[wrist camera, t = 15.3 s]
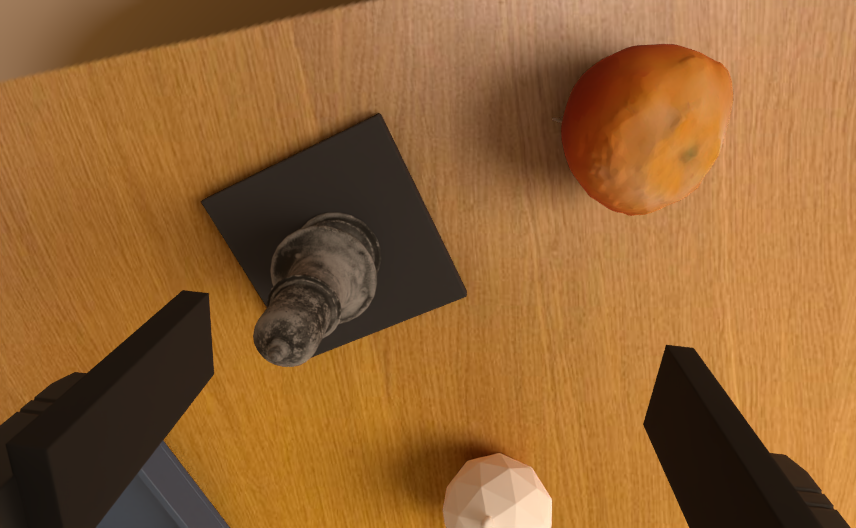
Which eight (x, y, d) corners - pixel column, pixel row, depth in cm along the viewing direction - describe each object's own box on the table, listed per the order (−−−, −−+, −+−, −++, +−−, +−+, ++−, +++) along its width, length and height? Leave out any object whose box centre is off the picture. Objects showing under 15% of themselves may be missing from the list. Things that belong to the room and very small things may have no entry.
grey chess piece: (393, 292, 34) (356, 414, 23) (302, 302, 35) (224, 424, 24) (376, 201, 32) (326, 286, 21) (279, 213, 33) (182, 302, 22)
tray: (7, 465, 43) (-25, 494, 40) (141, 411, 40) (117, 439, 37) (110, 580, 47) (87, 613, 44) (238, 538, 44) (223, 572, 42)
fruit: (579, -11, 27) (705, 30, 21) (668, 56, 31) (792, 105, 26) (494, 138, 30) (584, 211, 24) (587, 180, 34) (681, 249, 28)
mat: (205, 198, 34) (199, 201, 33) (380, 112, 31) (378, 114, 30) (303, 355, 37) (300, 362, 37) (467, 291, 35) (467, 296, 34)
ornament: (437, 507, 42) (404, 529, 34) (498, 429, 42) (479, 434, 34) (511, 580, 39) (494, 622, 32) (576, 497, 39) (574, 518, 32)
